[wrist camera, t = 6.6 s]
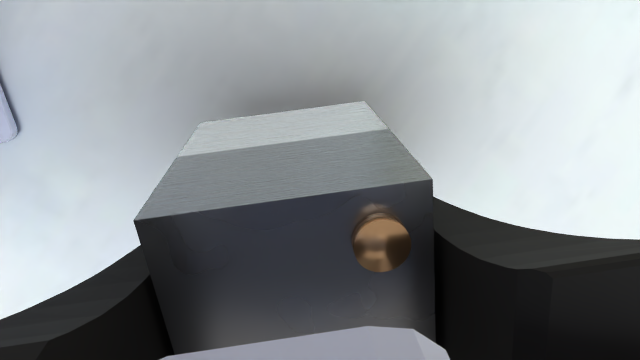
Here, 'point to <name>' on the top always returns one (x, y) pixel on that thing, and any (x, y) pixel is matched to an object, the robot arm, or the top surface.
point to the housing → (290, 230)
